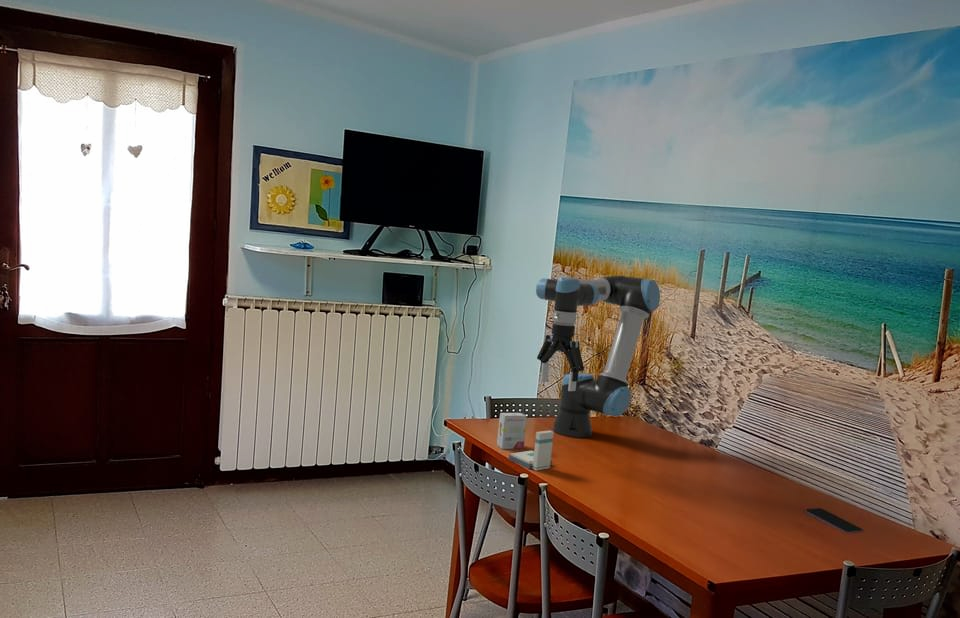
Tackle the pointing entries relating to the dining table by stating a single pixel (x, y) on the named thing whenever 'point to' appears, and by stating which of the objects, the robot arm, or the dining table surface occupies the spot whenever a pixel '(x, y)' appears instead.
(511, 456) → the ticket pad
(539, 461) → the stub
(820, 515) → the smartphone
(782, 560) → the dining table surface
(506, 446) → the ink box
